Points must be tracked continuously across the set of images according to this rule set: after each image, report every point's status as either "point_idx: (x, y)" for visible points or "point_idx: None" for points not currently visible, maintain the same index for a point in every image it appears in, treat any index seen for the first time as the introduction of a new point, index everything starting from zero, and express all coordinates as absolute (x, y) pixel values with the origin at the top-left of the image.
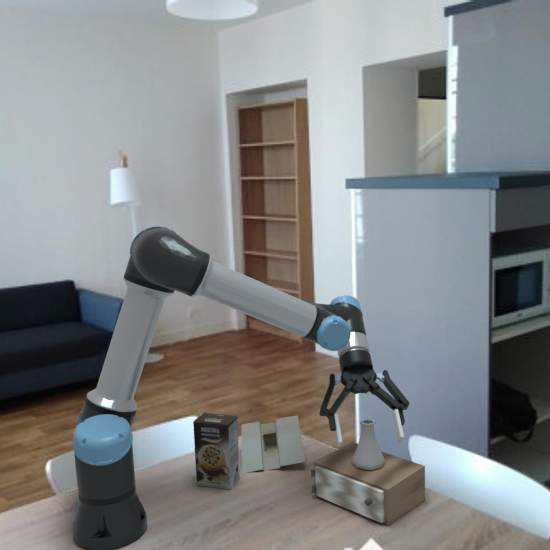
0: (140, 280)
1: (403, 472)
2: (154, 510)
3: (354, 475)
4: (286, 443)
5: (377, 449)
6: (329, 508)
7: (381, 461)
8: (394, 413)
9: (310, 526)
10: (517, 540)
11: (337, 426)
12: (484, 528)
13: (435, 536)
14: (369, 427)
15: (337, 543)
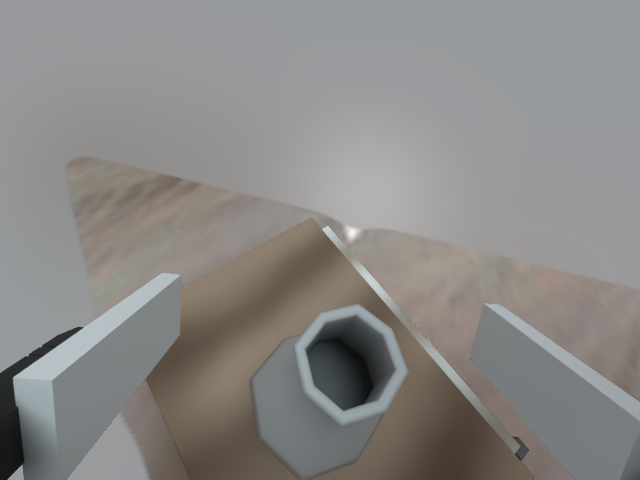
0: None
1: (222, 293)
2: None
3: (385, 316)
4: None
5: (289, 351)
6: None
7: (275, 352)
8: (77, 395)
9: (464, 304)
10: (100, 171)
11: (559, 348)
12: (124, 212)
13: (232, 214)
14: (343, 323)
15: (413, 239)
